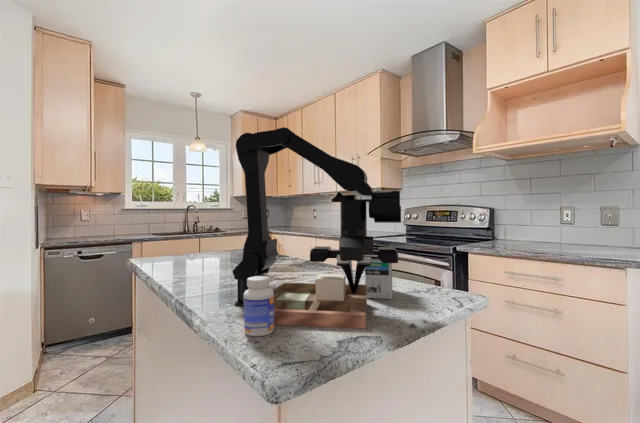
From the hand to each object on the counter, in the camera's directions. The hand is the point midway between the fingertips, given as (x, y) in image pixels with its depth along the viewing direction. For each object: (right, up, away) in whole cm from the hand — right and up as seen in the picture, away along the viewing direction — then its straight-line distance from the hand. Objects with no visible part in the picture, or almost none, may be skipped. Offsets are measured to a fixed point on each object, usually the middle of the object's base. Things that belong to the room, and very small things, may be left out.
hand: (354, 293), depth 73 cm
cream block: (-5, -1, +1) cm, 5 cm away
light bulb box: (+8, -4, +13) cm, 16 cm away
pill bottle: (-19, -4, -13) cm, 23 cm away
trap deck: (-8, -4, -3) cm, 9 cm away
